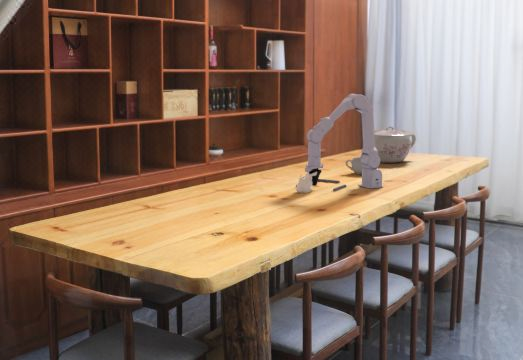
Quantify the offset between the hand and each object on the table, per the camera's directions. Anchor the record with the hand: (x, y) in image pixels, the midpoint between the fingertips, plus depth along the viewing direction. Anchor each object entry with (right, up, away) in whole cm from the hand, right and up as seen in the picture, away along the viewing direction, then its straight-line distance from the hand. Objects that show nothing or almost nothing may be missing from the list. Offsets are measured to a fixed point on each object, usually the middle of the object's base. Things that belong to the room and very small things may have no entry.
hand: (314, 185), depth 301 cm
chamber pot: (+51, +13, +86) cm, 101 cm away
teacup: (+27, +6, +44) cm, 52 cm away
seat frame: (+6, 0, +10) cm, 11 cm away
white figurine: (-3, -3, -4) cm, 6 cm away
